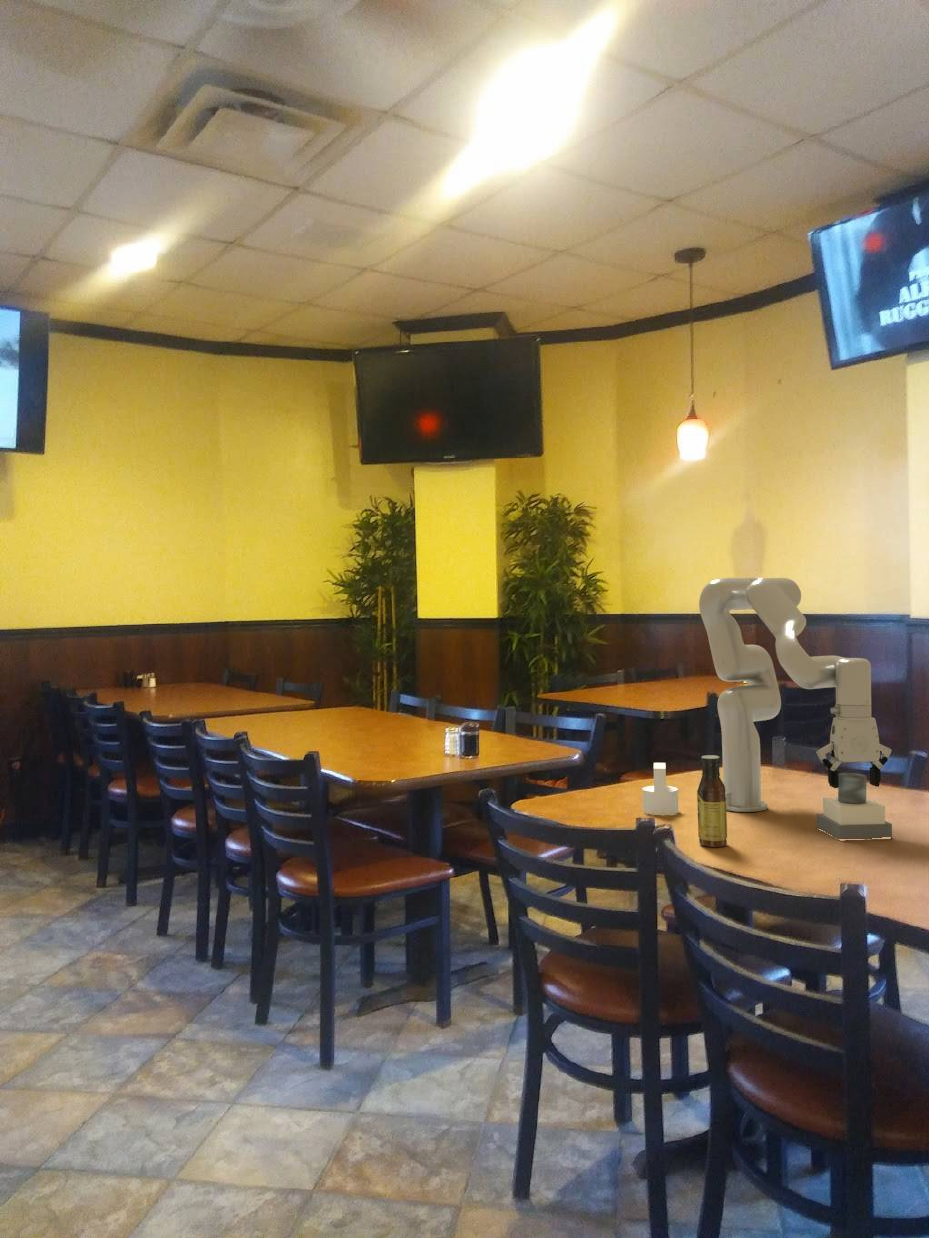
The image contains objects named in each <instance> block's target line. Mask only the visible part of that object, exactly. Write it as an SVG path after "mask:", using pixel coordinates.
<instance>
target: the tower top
mask: <svg viewBox="0 0 929 1238" xmlns="http://www.w3.org/2000/svg"><path fill="white" fill-rule="evenodd" d="M822 803H823V804H822V810H823V811H822V814H823V815H824V816H826V817H828V818H830V819H831V820H833V821H835V822H837V823H838V824H840V825H858V824H885V821H886V806H885V805H883V804H881V803H879V802H877V801H874V800H872V799H871V798H868V797H866V803H865V804H847V803H842V802H839V801H838V797H823V798H822Z"/></svg>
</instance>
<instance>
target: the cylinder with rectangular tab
mask: <svg viewBox="0 0 929 1238" xmlns="http://www.w3.org/2000/svg"><path fill="white" fill-rule="evenodd" d="M666 767H667V766H666V762H653V785H648V786H645V787H642V789H641V791H642V812H643V811H644V812H645V813H647V814H646V815H648V813H649V814H653V815H652V816H654V815H670V816H673V815H672V814H675V815H677V814H676V813H678V814H679V789H678V787H676V786H671V785H667V773H666V772H667V770H666V769H667V768H666ZM645 813H644V814H645Z"/></svg>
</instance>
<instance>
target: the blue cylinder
mask: <svg viewBox="0 0 929 1238" xmlns="http://www.w3.org/2000/svg"><path fill="white" fill-rule="evenodd" d="M838 776H839V787H838V788H837V790H838V791H837V798H838V801H839V802H842V803H847V804H865V803H866V798H867V781H868V779H867V775H865V774H861V773H853V772H841V773H838Z"/></svg>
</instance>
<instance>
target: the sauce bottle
mask: <svg viewBox="0 0 929 1238" xmlns="http://www.w3.org/2000/svg"><path fill="white" fill-rule="evenodd" d="M700 758H701V759H700V760H701V761H700V763H701V778H700V781H699V783H698V787H697V791H696V798H697V799H696V800H697V831H698V833H697V835H698V842H699V843H700V845H701V846H704V847H708V848H714V849H715V848H716V849H717V848H721V847H725V846H727V844H728V843H727V842H728V841H727V839H728V817H727V816H728V814H727V812H728V810H726V796H725V786H724V784H723V780H722V779H721V774H720V764H721V761H720V760H721V757H720V756H718V755H714V754H713V755H712V754H711V755H710V754H708V755H706V754H705V755H702V756H701V757H700Z"/></svg>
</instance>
